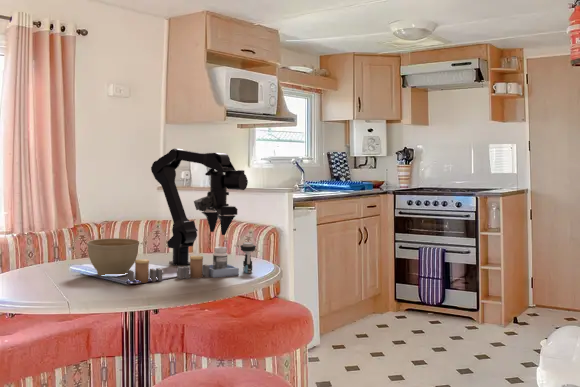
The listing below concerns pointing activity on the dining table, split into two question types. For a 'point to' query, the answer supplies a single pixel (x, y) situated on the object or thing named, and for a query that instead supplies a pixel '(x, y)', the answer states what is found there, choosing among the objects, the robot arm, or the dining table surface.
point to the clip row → (180, 273)
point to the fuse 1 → (142, 270)
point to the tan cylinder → (196, 266)
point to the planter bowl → (112, 255)
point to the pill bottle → (220, 258)
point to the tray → (223, 271)
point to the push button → (247, 256)
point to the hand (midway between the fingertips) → (217, 233)
